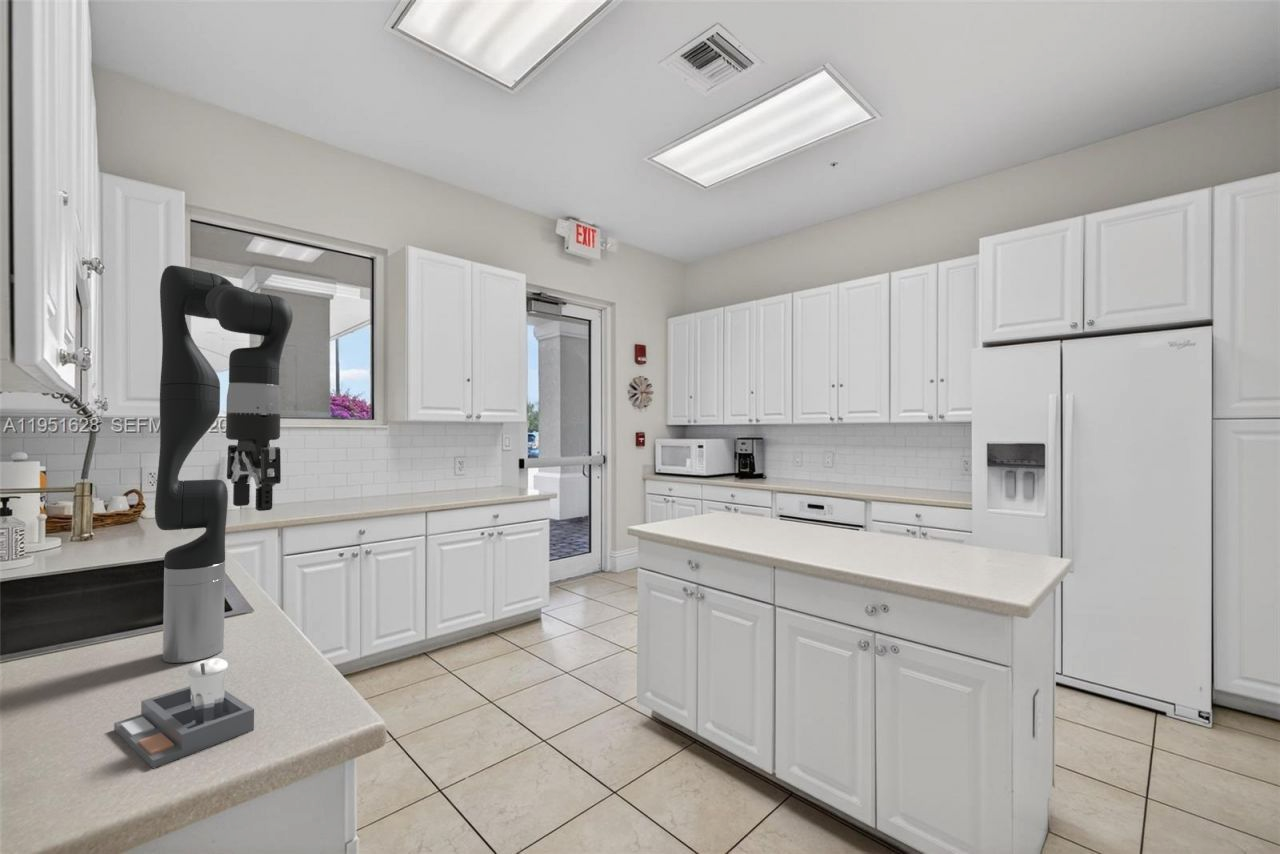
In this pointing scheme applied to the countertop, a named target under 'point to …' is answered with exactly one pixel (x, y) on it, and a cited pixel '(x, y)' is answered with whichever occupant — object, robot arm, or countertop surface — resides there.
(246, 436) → the robot arm
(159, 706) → the dock
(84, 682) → the countertop surface
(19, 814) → the countertop surface
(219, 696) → the milkshake
